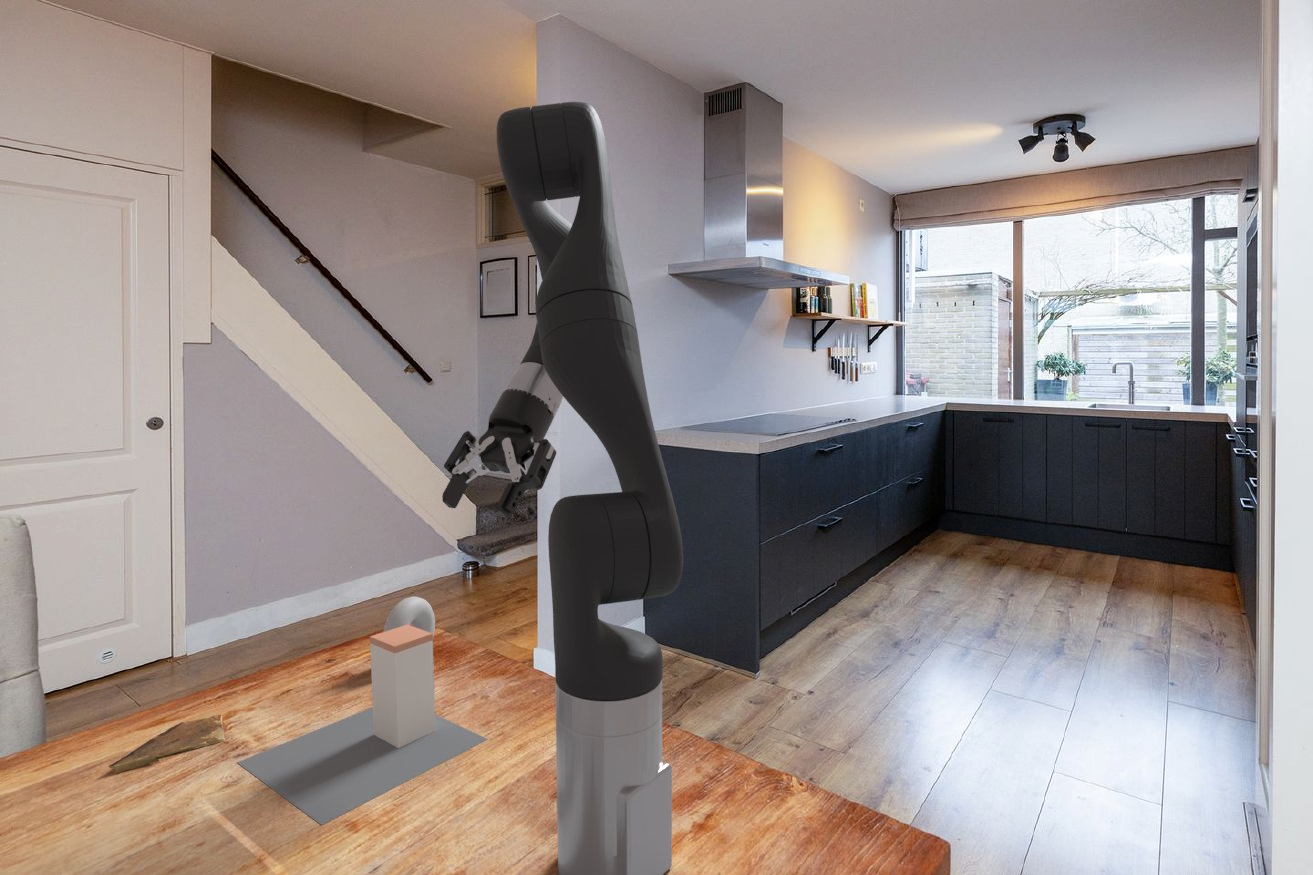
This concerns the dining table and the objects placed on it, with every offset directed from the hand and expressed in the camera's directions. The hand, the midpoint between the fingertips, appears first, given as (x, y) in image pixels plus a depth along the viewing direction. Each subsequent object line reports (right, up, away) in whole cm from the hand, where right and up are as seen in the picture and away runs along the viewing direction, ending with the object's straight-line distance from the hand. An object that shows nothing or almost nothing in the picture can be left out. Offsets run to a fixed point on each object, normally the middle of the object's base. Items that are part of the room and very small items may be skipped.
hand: (474, 509), depth 89 cm
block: (-8, -26, -2) cm, 28 cm away
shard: (-32, -28, -5) cm, 43 cm away
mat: (-11, -27, -6) cm, 30 cm away
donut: (-14, -25, +19) cm, 34 cm away
